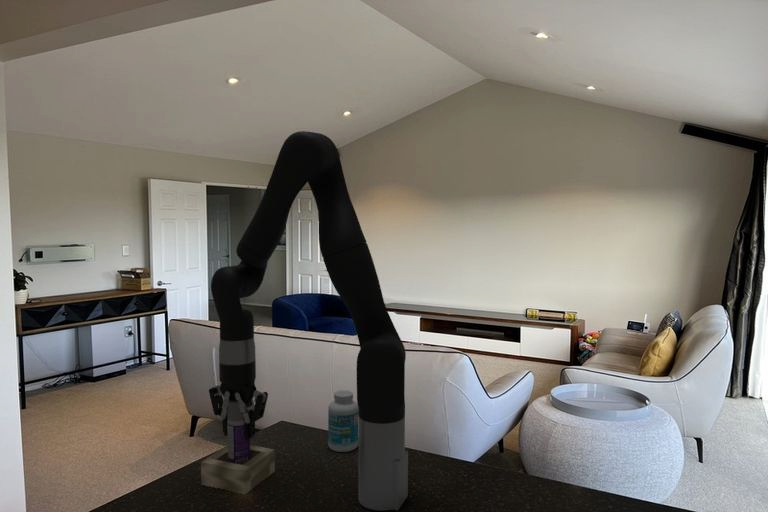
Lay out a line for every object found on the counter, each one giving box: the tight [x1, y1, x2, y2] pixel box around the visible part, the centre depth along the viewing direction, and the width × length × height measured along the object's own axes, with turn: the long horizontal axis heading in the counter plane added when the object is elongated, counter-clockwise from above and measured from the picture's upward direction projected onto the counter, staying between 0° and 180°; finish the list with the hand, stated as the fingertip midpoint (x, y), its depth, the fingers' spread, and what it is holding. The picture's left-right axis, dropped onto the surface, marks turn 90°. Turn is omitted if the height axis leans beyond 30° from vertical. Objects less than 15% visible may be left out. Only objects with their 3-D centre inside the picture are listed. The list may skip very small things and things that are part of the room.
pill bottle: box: [327, 390, 359, 453], centre depth 134 cm, size 8×7×14 cm
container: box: [227, 400, 251, 465], centre depth 117 cm, size 5×5×15 cm
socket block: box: [200, 444, 276, 495], centre depth 118 cm, size 11×11×5 cm
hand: (238, 436), depth 117 cm, fingers closed on container, 4 cm apart
